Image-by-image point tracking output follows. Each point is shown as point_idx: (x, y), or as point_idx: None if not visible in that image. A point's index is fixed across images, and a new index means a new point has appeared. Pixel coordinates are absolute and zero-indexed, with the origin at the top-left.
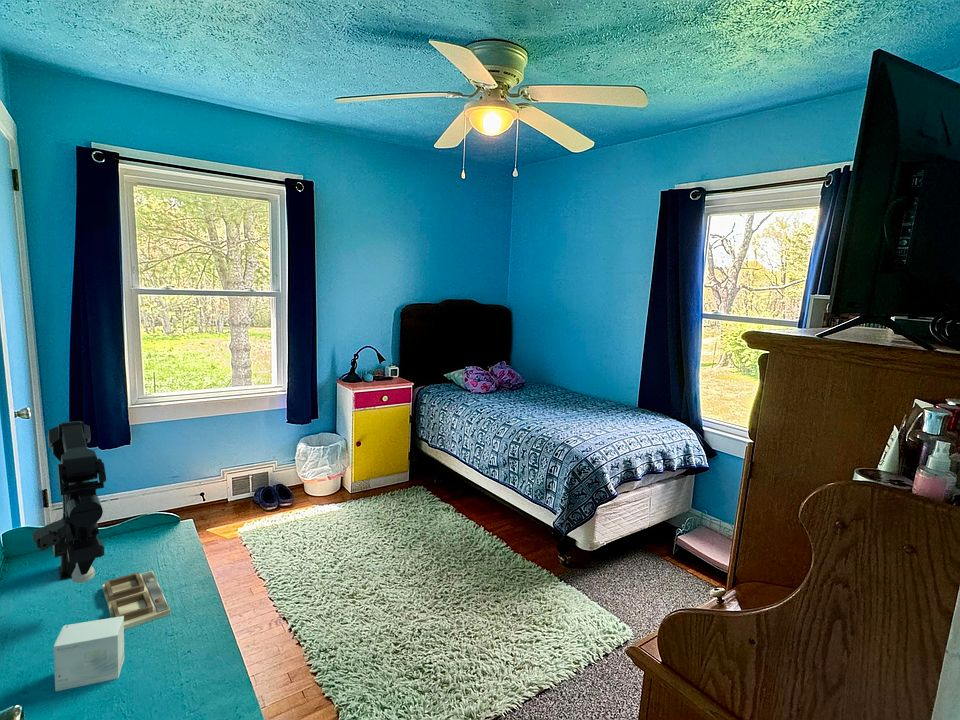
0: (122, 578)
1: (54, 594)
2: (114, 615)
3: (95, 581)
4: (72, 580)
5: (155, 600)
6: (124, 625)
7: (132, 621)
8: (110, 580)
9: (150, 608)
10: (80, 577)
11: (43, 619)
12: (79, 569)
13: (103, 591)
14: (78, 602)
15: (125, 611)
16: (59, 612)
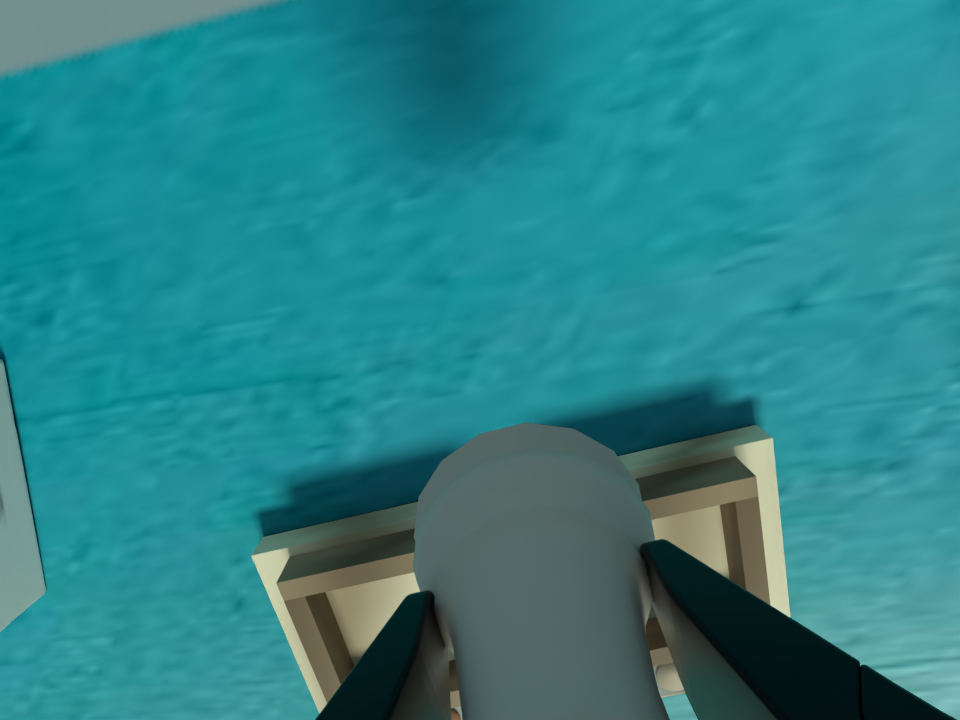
0: (743, 565)
1: (841, 150)
2: (350, 552)
3: (873, 373)
4: (475, 442)
5: None
6: (267, 591)
7: (290, 622)
8: (750, 505)
9: None
10: (416, 555)
11: (547, 144)
12: (453, 615)
13: (714, 436)
14: (659, 315)
15: (400, 584)
16: (590, 225)
